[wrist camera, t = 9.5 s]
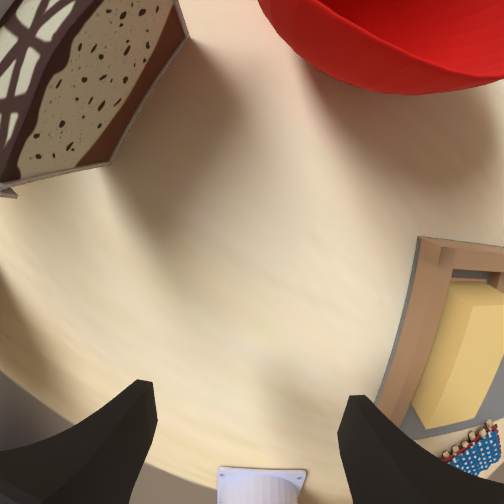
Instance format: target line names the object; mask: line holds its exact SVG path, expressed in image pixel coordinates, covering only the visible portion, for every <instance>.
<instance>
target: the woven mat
mask: <svg viewBox="0 0 504 504" xmlns="http://www.w3.org/2000/svg"><path fill="white" fill-rule="evenodd" d="M486 425H487V429H485V428H483V429H481V430H480V431H479V433H478V435H477V437H476V436H475V433H474V432H471V433H470V434H469V437H470V439H471V442H470V443H468V442H467V441H464V442H463V443H462V447H463V448H462V449H460V450H459V448H458V446H454V447H453V455H451V456H450V454H449V452H448V451H446V452H444V453H443V456H444V458H445V459H441V460H442V461H444V462H446V463H448V464H450V465H452V466H454V467H456V468H458V469H460V470H462V471H464V472H467V473H469V474H472V475H475V476H478V474H479V473H480V474H481V473H482V472H481V471H483V470H487V469H488V468H489V466H492V465H493V463H496V462H498V460H499V459H500V457H501V455H499V454H501V449H500V448H501V445H500V444H499V443H500V441H499V440H500V439H499V435H497V433H498V430H496V429H497V427H498V426H497V424H495V425H494V426H493V424H492V420H490V419H488V420H487V422H486ZM487 432H488V433H487ZM479 438H480V439H479ZM478 439H479V440H478ZM481 443H482V444H481ZM461 453H462V454H461Z"/></svg>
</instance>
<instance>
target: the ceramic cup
mask: <svg viewBox="0 0 504 504" xmlns="http://www.w3.org/2000/svg"><path fill="white" fill-rule="evenodd" d="M258 2H259V5H260V7H261V9H262V11H263V13H264V14H265V16H266V17H267V19H268V20H269V21H270V23H271V24H272V26H273V27H274V29H275V30H276V32H277V33H278V35H279V36H280V37H281V38H282V39H283V40H284V41H285V42H286V43H287V44H288V45H289V46H290V47H291V48H292V49H293V50H294V51H295V52H296V53H297V54H298V55H300V56H301V57H302V58H304V59H305V60H306V61H308V62H309V63H310V64H312V65H313V66H314V67H316V68H318V69H320V70H321V71H323V72H325V73H327V74H329V75H330V76H332V77H334V78H336V79H339V80H341V81H344V82H346V83H349V84H351V85H354V86H356V87H360V88H364V89H368V90H372V91H377V92H381V93H388V94H402V95H423V94H432V93H441V92H450V91H456V90H462V89H467V88H472V87H477V86H481V85H486V84H489V83H493V82H495V81H498V80H501V79H504V0H258Z"/></svg>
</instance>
